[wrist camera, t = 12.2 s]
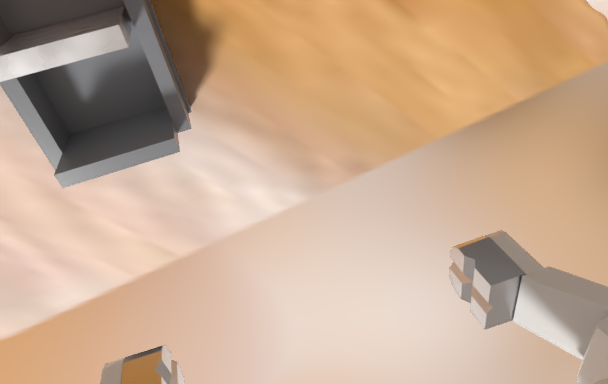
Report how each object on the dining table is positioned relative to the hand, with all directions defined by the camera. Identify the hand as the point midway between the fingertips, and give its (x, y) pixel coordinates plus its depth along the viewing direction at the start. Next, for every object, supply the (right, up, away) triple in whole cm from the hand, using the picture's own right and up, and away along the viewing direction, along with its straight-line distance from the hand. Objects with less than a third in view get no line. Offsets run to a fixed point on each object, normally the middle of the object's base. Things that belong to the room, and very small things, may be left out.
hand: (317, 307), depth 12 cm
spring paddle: (-15, +14, +15) cm, 26 cm away
